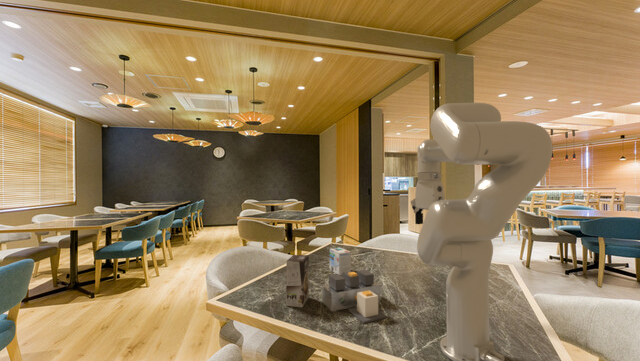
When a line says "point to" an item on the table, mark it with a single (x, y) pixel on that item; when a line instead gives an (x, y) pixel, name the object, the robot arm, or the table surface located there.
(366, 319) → the pad
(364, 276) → the toggle right
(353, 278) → the toggle mid
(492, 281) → the table surface
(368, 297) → the cap
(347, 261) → the light bulb box
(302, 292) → the coffee box
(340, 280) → the toggle left
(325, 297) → the breaker console
